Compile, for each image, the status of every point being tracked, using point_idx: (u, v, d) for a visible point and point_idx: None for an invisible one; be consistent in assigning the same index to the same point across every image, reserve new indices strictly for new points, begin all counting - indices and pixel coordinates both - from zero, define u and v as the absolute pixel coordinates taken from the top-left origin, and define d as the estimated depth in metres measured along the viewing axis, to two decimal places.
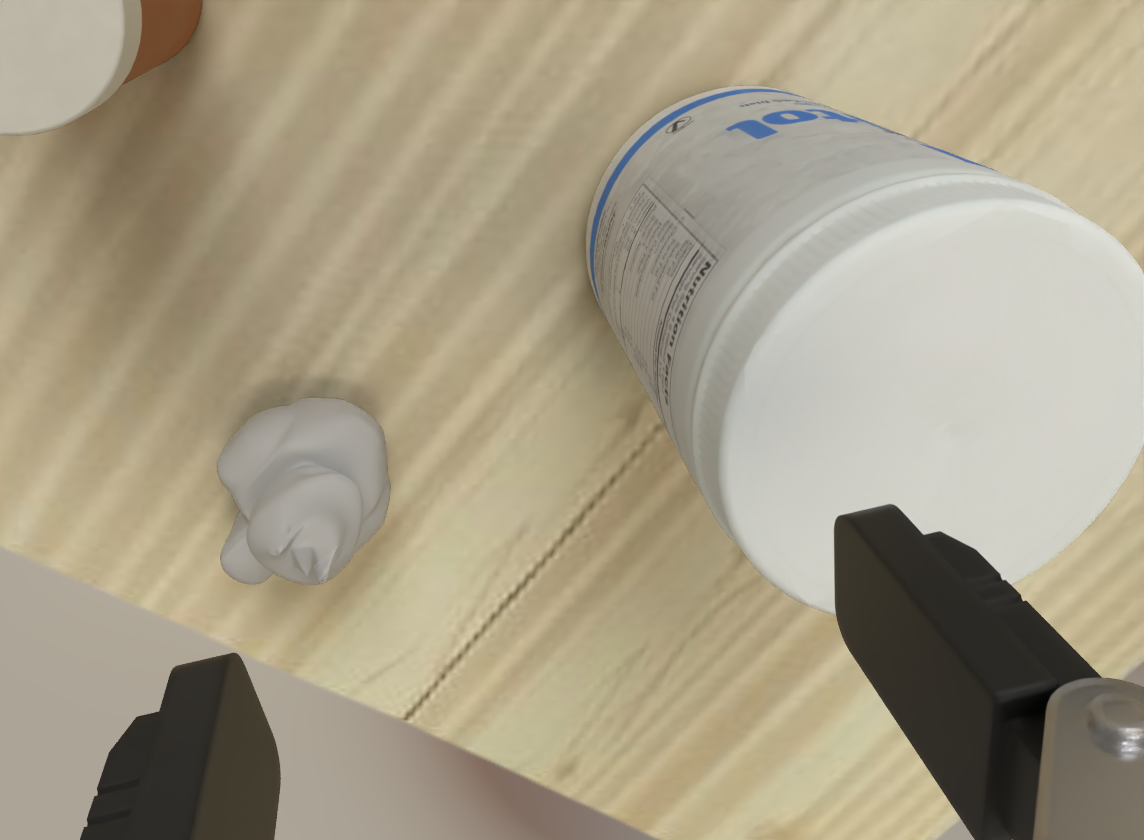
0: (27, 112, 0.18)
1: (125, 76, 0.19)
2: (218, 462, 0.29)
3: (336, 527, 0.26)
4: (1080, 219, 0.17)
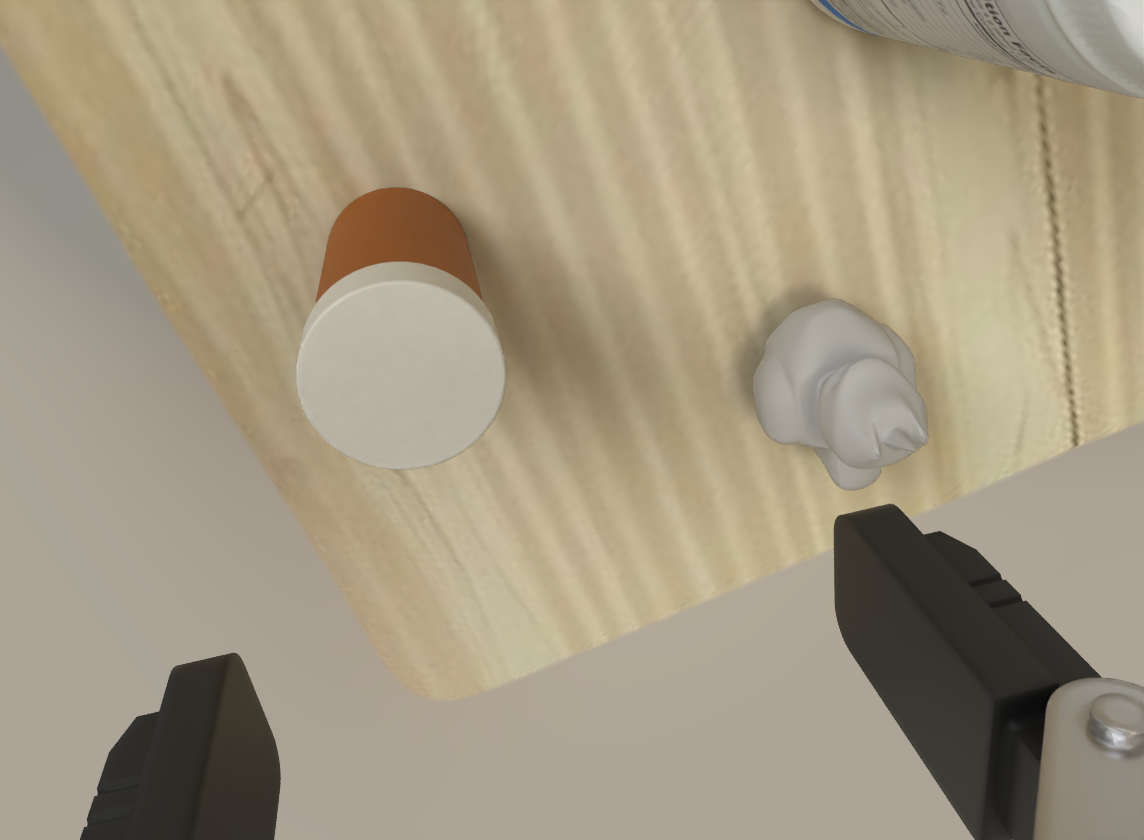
0: (484, 403, 0.22)
1: (493, 321, 0.22)
2: (768, 435, 0.32)
3: (893, 399, 0.28)
4: None
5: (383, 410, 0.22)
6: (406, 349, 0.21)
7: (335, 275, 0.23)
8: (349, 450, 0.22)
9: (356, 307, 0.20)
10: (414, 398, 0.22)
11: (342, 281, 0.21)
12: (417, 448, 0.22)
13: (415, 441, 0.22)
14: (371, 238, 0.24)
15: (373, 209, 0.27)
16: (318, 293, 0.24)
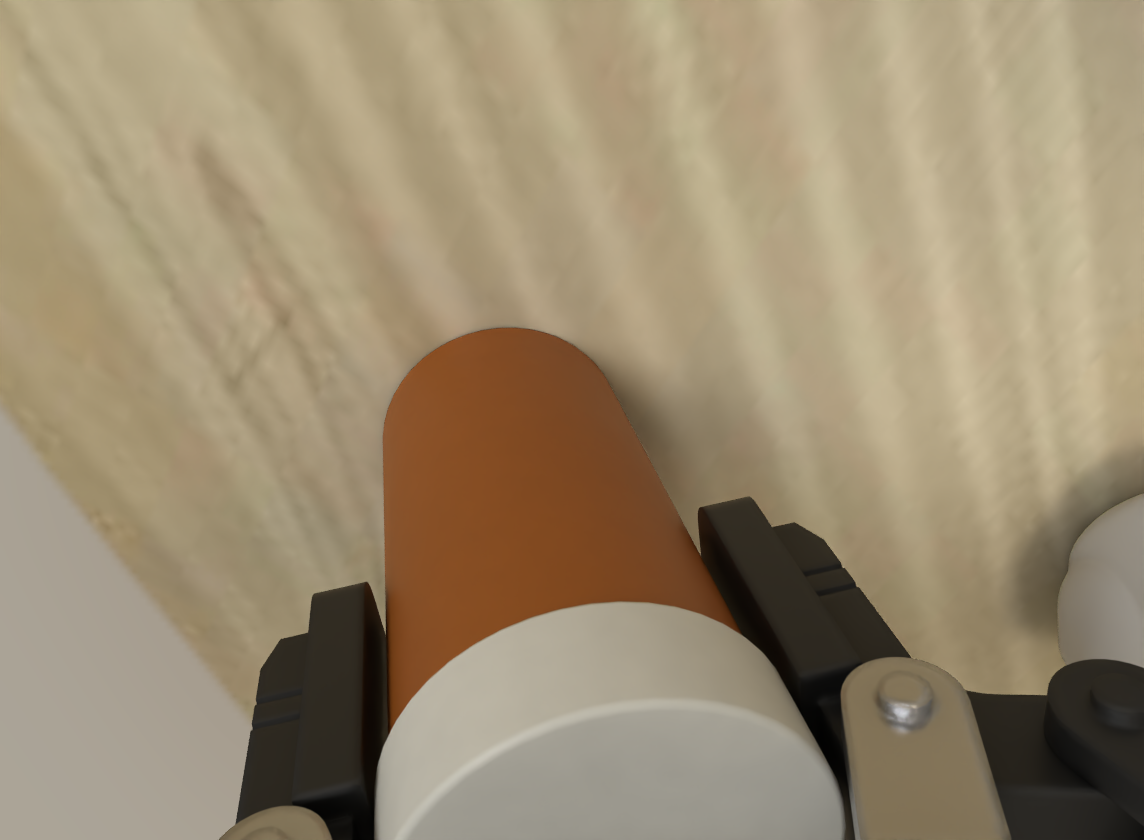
0: None
1: None
2: None
3: None
4: None
5: None
6: (635, 832, 0.09)
7: (440, 594, 0.11)
8: None
9: (525, 767, 0.08)
10: None
11: (476, 665, 0.09)
12: None
13: None
14: (500, 487, 0.12)
15: (479, 389, 0.14)
16: (396, 604, 0.12)
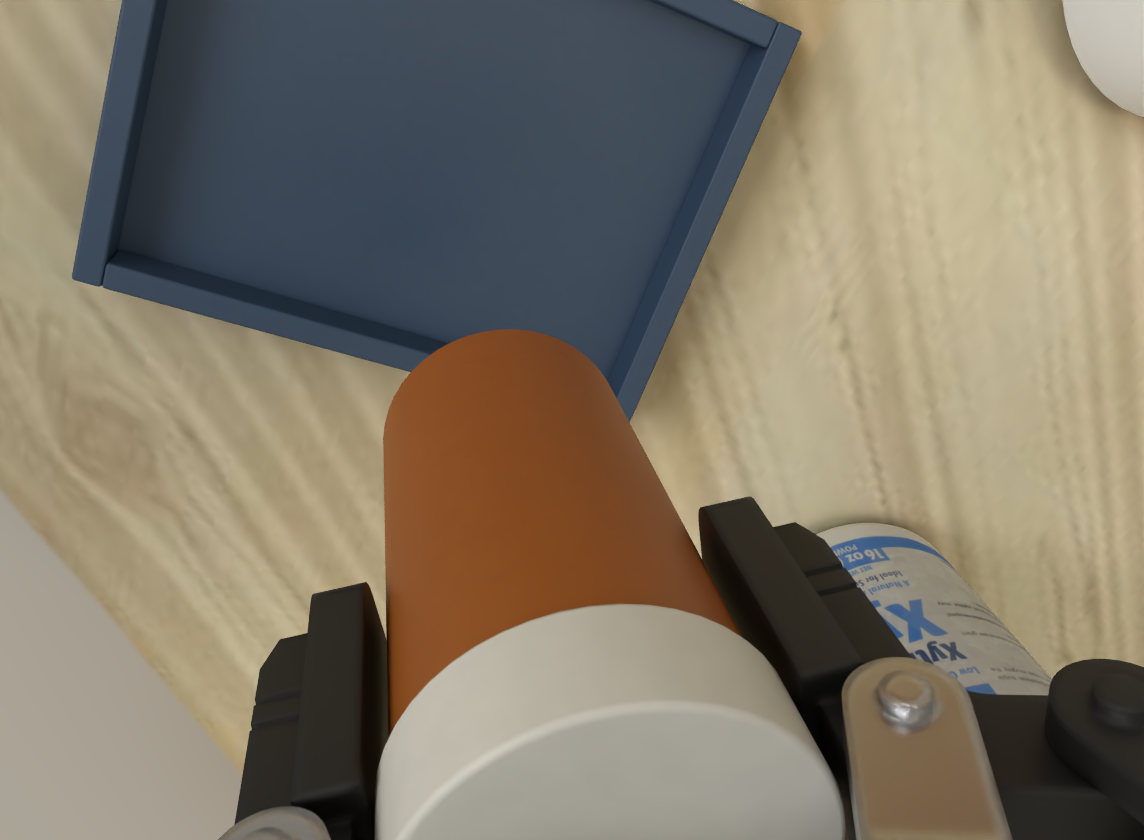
0: None
1: None
2: None
3: None
4: None
5: None
6: (635, 834, 0.09)
7: (440, 596, 0.11)
8: None
9: (526, 769, 0.08)
10: None
11: (476, 667, 0.09)
12: None
13: None
14: (501, 488, 0.12)
15: (479, 391, 0.14)
16: (396, 606, 0.12)
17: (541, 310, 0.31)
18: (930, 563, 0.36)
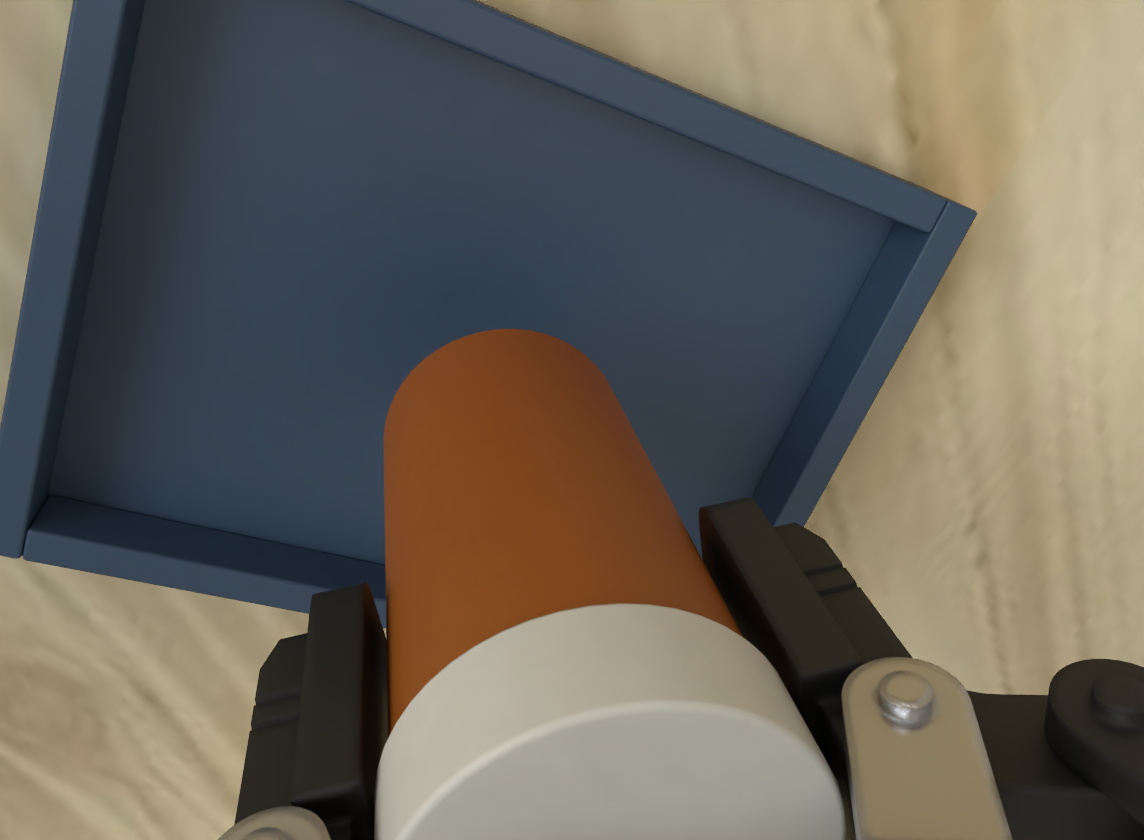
0: None
1: None
2: None
3: None
4: None
5: None
6: (635, 834, 0.09)
7: (440, 595, 0.11)
8: None
9: (525, 768, 0.08)
10: None
11: (476, 666, 0.09)
12: None
13: None
14: (501, 488, 0.12)
15: (479, 390, 0.14)
16: (396, 605, 0.12)
17: None
18: None
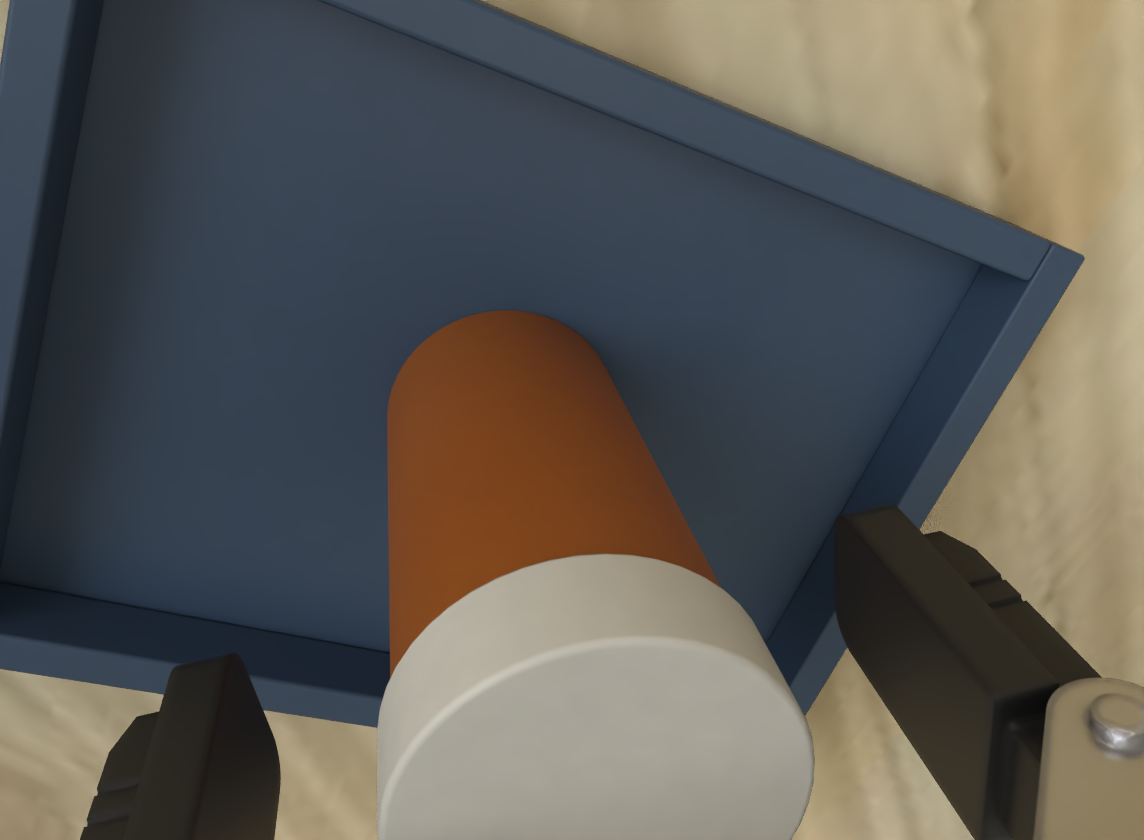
0: (763, 838, 0.10)
1: None
2: None
3: None
4: None
5: None
6: (617, 764, 0.10)
7: (439, 551, 0.11)
8: None
9: (516, 698, 0.09)
10: None
11: (472, 609, 0.10)
12: None
13: None
14: (497, 454, 0.13)
15: (478, 366, 0.15)
16: (398, 564, 0.12)
17: None
18: None
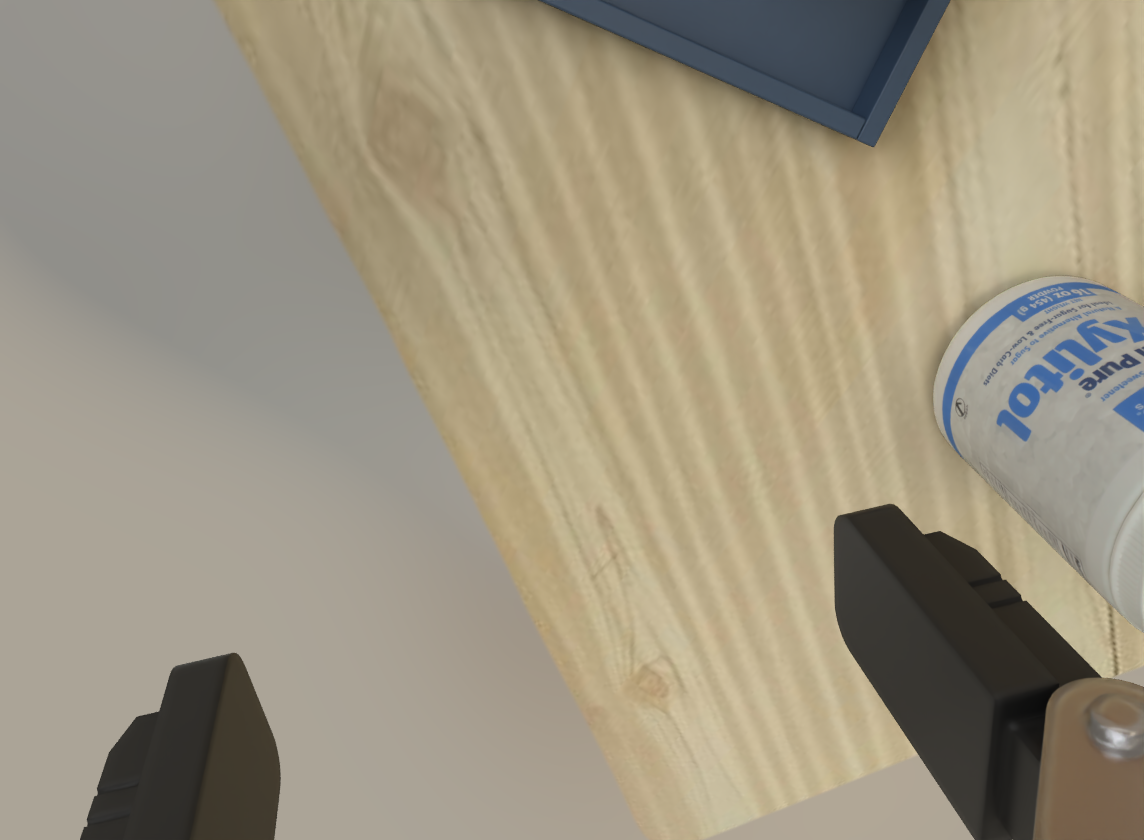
0: None
1: None
2: None
3: None
4: None
5: None
6: None
7: None
8: None
9: None
10: None
11: None
12: None
13: None
14: None
15: None
16: None
17: (806, 27, 0.34)
18: (1133, 301, 0.39)
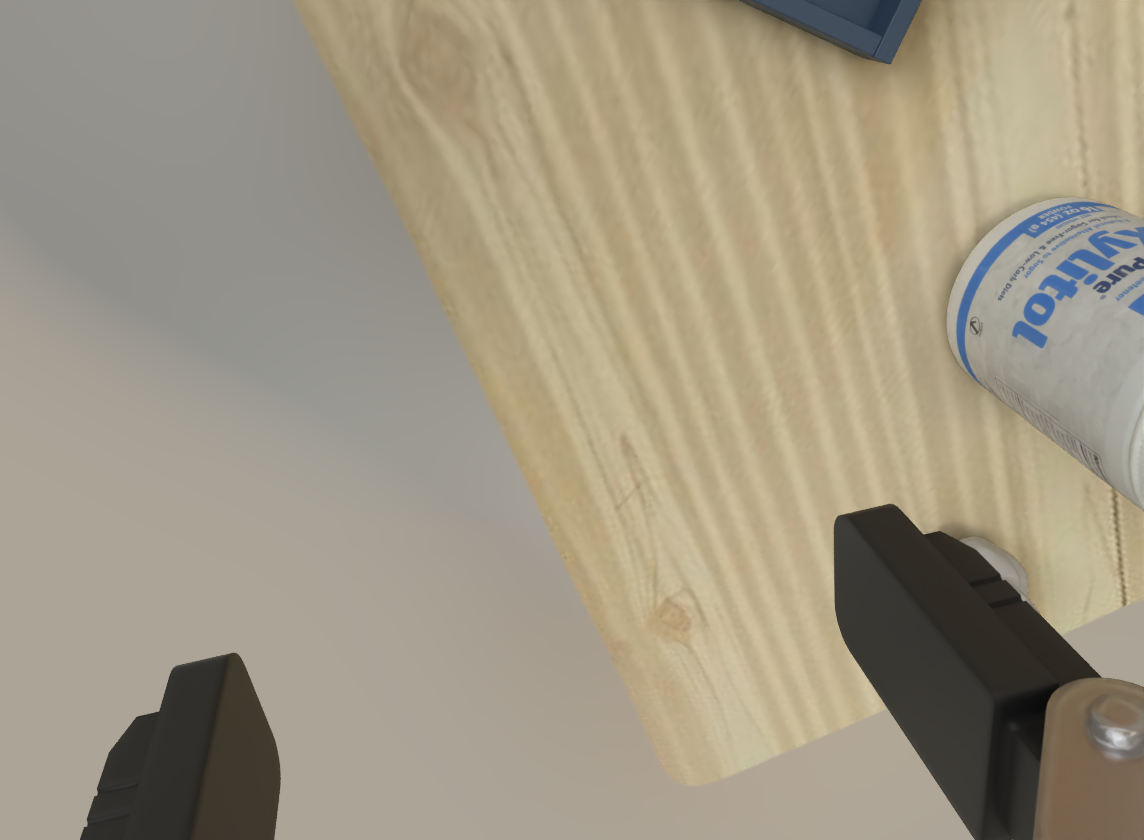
0: None
1: None
2: None
3: None
4: None
5: None
6: None
7: None
8: None
9: None
10: None
11: None
12: None
13: None
14: None
15: None
16: None
17: None
18: (1140, 217, 0.40)
